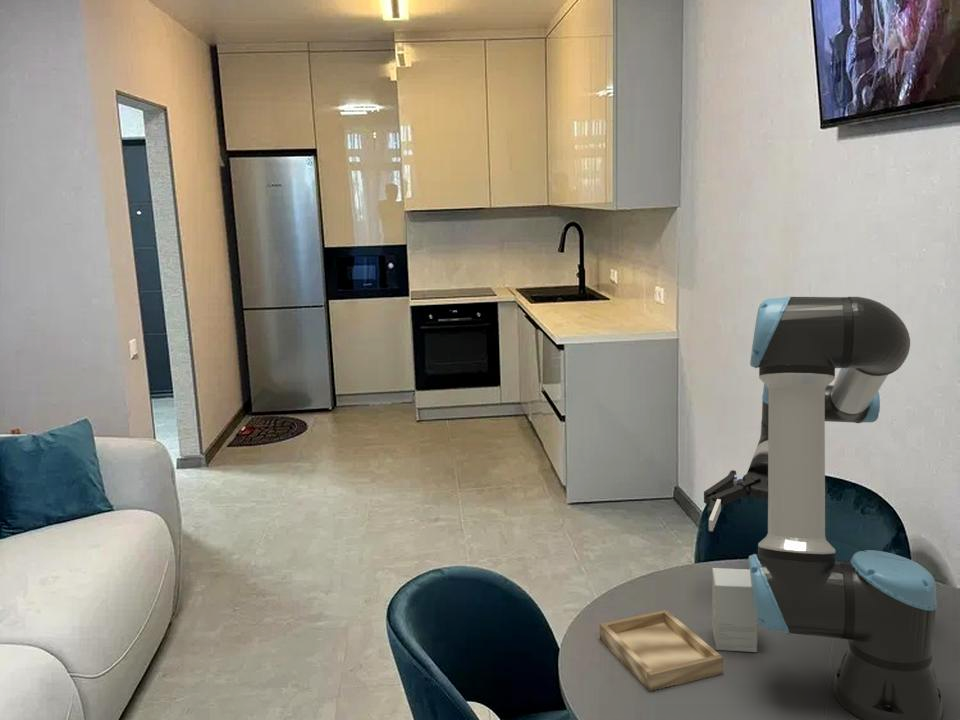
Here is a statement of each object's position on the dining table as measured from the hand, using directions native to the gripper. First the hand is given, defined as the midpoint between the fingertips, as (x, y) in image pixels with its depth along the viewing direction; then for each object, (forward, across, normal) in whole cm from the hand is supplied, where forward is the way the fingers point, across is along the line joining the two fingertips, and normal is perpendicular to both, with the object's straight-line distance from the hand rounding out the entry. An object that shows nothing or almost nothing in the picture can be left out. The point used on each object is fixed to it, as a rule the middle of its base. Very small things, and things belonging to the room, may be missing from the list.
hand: (747, 534), depth 147 cm
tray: (+24, +10, -10) cm, 28 cm away
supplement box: (+14, -1, -14) cm, 20 cm away
